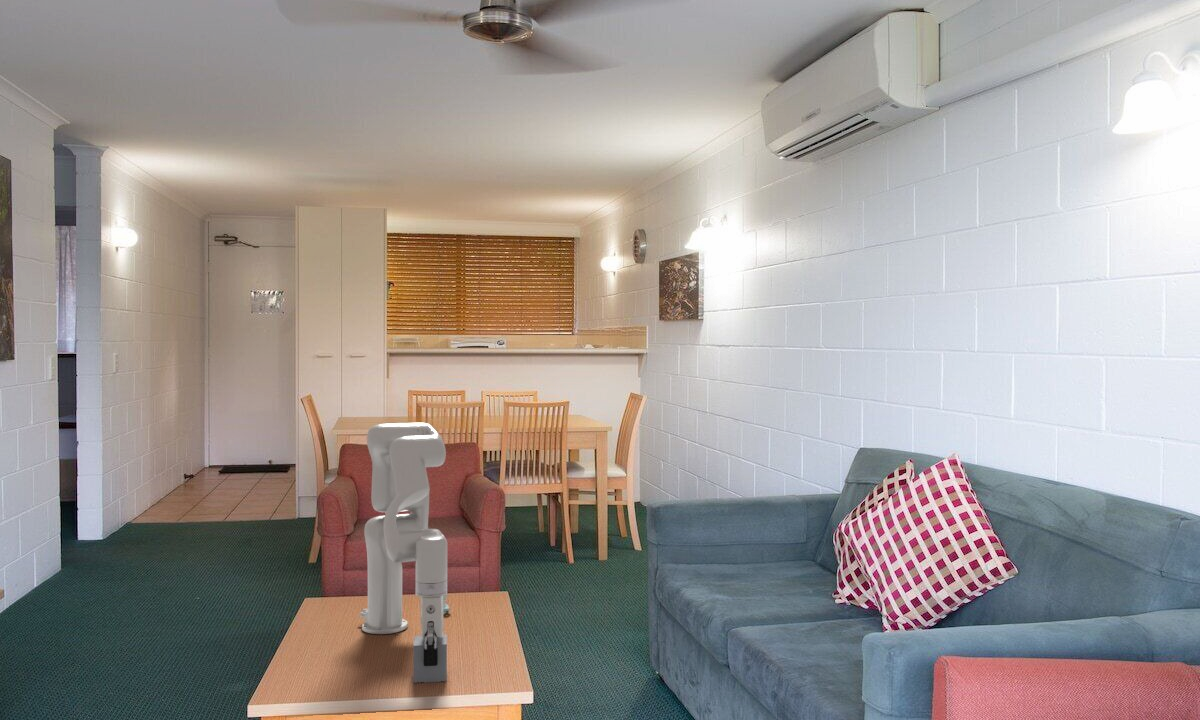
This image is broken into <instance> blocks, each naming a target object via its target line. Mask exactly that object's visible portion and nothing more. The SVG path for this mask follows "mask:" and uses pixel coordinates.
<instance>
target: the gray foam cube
mask: <svg viewBox="0 0 1200 720" xmlns="http://www.w3.org/2000/svg"><path fill="white" fill-rule="evenodd" d="M427 636H428V635H427ZM412 647H413V648H412V650H413V651H412V652H413V654H412V655H413V656H412V658H413V659H412V661H413V664H412V665H413V666H412V667H413V668H412V669H413V673H412V674H413V675H412V677H413V679H412V680H413V684H419V683H420V682H424V683H437V682H438V683H440V682H441V681H444V682H447V678H448V676H447V675H448V660H447V659H448V634H447V633H445V634H444V633H443V637H442V638H440V637H437V647H436V648H438V664H437V666H424V649H425V639H424V638H422V634H421V635H414V640H413V645H412ZM417 682H419V683H417ZM441 683H442V682H441Z"/></svg>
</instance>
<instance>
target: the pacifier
mask: <svg viewBox="0 0 1200 720" xmlns="http://www.w3.org/2000/svg"><path fill="white" fill-rule="evenodd" d="M447 599H448V593H447V594H446V595H444V596H443V615H446V614H447V612H450V611H451V608H450V606H449V605H448V603H446V602H447Z"/></svg>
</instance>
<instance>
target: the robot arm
mask: <svg viewBox="0 0 1200 720" xmlns="http://www.w3.org/2000/svg"><path fill="white" fill-rule="evenodd" d="M366 445H367V449H368V452H369V456H370V459H371V462H372V463H371V464H372V469H371V470H372V472H371V473H372V474H371V498H370V500H371V506H372V507H373V508H372V509H374V510H375V511H376V512H378V513H385V514H384V515H377V516H374V517H371V518H369V519H368V520H367V522H365V524H364V529H363V531H364V532H363V533H364V541H365V547H366V554H367V555H366V556H367V608H363V609H362V610H361V611H360V612H359V614H358V615H359V617H360V618H364V622H363V623H362V624H361V630H362V631H363V632H365V633H367V634H373V635H388V634H395V633H398V632H402V631H404V630H406V629H407V628H408V627H409V624H408V623H409V622H408V621H407V620H406V619H404V618H403V564H402V563H409V562H415V582H414V583H415V596H416V597H420V627H421V635H422V638H424V639H425V649H424V666H437V664H438V648H436V647H437V637H440V638H442V637H443V634H444V614H443V596H444V595H446V594H447V595H448V540H447V538H446V537H445V535H444V534H443V533H442V531H441V530H440V529H437V528H429V512H430V491H431V488H430V482H429V478H428V472H427V468H434V467H435V468H437V467H441V466H442V465H444V463H445V461H446V458H447V457H446V456H447V451H446V446H445V443H444V440H443V438H442V436H441V435H440V434H439V433H438V431H437V430H436V429H435V428H434V427H433V426H432V425H431V424H430V423H426V422H397V423H395V422H394V423H393V422H392V423H379V424H374V425H373V426H371V427H370V428H369V429H368V431H367V436H366ZM400 512H410V513H401V514H400ZM427 635H428V636H427Z"/></svg>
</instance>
